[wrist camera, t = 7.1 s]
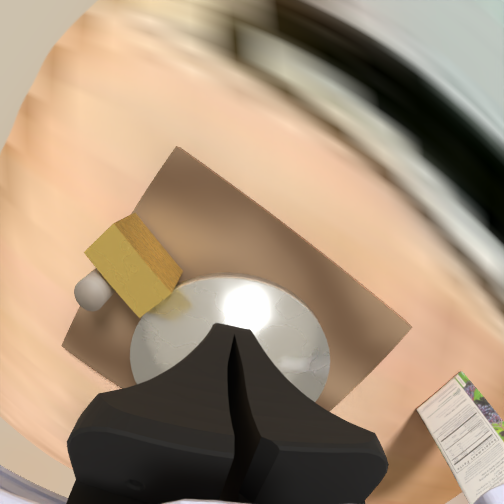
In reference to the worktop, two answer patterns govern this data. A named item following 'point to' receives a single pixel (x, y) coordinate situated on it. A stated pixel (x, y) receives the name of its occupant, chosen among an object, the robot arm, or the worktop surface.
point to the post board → (235, 261)
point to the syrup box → (467, 435)
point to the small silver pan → (205, 309)
